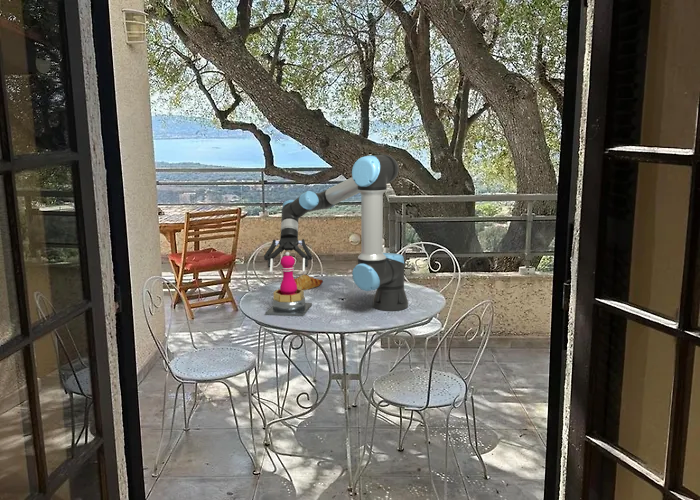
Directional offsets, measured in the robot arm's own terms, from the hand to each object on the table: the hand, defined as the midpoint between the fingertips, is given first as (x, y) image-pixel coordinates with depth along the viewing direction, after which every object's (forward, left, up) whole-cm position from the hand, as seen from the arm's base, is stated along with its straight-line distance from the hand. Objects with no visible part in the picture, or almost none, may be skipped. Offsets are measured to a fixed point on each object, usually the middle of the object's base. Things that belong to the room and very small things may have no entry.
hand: (287, 273), depth 257 cm
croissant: (+4, -40, -17) cm, 44 cm away
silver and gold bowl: (0, -2, -17) cm, 17 cm away
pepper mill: (0, -2, -12) cm, 12 cm away
